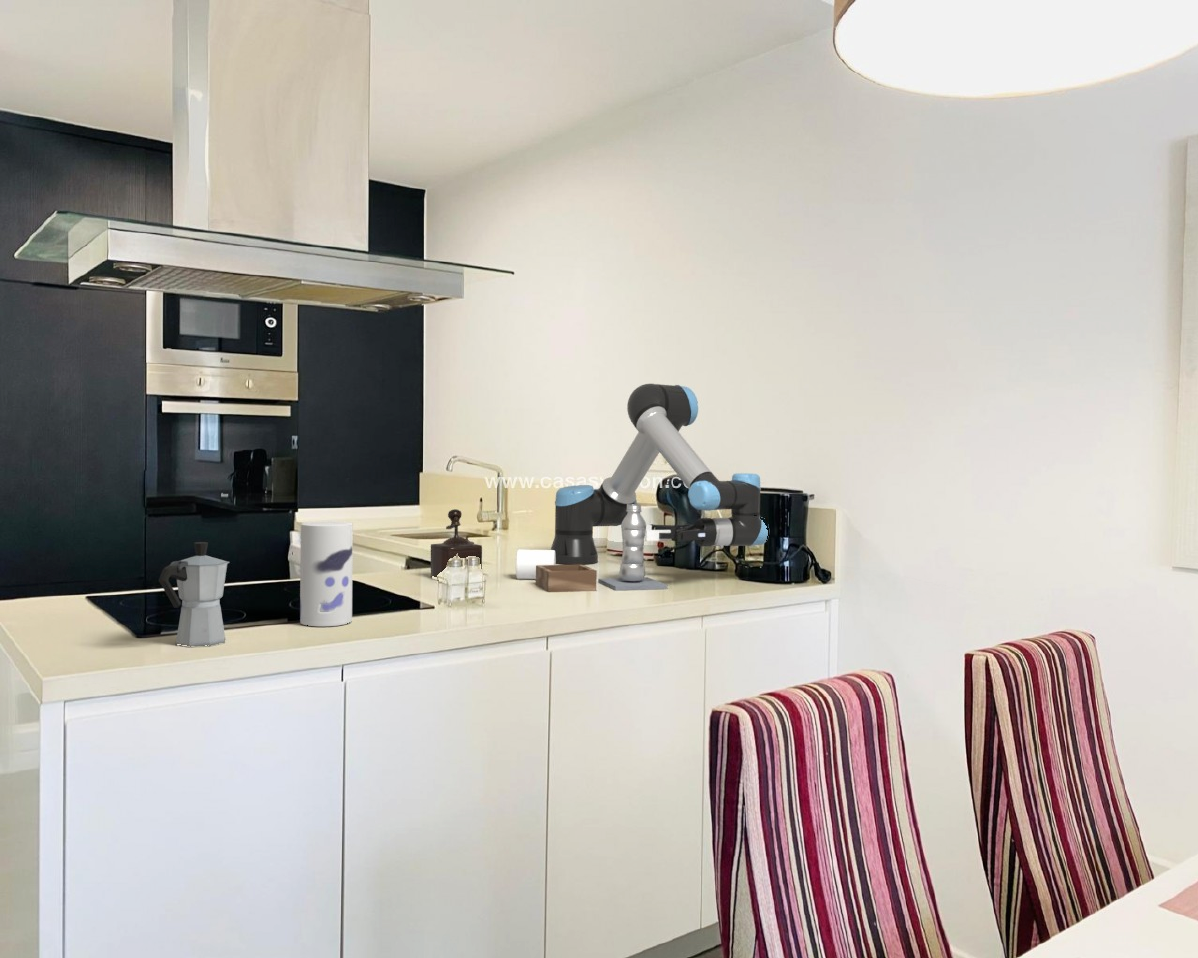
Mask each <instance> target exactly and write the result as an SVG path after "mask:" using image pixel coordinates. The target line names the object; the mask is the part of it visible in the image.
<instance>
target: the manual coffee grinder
mask: <svg viewBox="0 0 1198 958" xmlns="http://www.w3.org/2000/svg"><path fill="white" fill-rule="evenodd" d="M447 518H448V519H450V524H449V525H447V526H445V530H452V529H454V534H453V537H450V538H449V537H448V539H445V540H444V541H443V542H441V543H433V544H430V576H431V575H432V576H434V577H437V575H438V574H439V573H440V572H442V571H443V570H444V569H445V568H446V565H447V562H448V560H449V559H450V558H453V557H454V556H456V554H457V553H458V556H459V557H460V558H466V557H468V556H476V557H479V558H480V564H481V569H482V570H483V568H482V567H483V546H482V545H481V544H476V543H475V542H474V541H470V540H469V535H467V536H466V537H463V536H460V535H459V526H461V523H460V519H461V518H462V511H461V510H459V509H455V508H453V509H451V510H449V511H448V513H447Z"/></svg>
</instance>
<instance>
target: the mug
mask: <svg viewBox="0 0 1198 958" xmlns="http://www.w3.org/2000/svg"><path fill="white" fill-rule="evenodd" d="M536 565H557V563H556V557H555V550H551V549H525V548H524V549H523V548H522V549H520V548H519V549H517V551H516V558H515V575H516V576H515V577H516V580H531V581H532V580H535V581H536Z"/></svg>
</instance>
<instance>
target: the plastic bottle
mask: <svg viewBox="0 0 1198 958" xmlns="http://www.w3.org/2000/svg"><path fill="white" fill-rule="evenodd" d="M626 512H628V513H627V515H626V517H625V518H624V520H623V521H622V524H621V525H620V528H621V538H622V555H621V563H620V567H619V576H620V577H619V578H621V579H622V580H625V581H628V582H636V581H641V580H643V578H644V577H646V576H645V575H646V566H645V557H644V548H645V547H644V546H645V539H646V536H645V532H646V525H647V523H646V520H645V519H644V517H643V516H642V514H641V513H642V505H641V504H638V503H637V504H628V505H627V510H626Z"/></svg>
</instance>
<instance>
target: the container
mask: <svg viewBox="0 0 1198 958" xmlns="http://www.w3.org/2000/svg"><path fill="white" fill-rule="evenodd" d="M353 525H354V524H353V523H352V522H348V521H332V520H331V521H329V520H328V521H327V520H326V521H322V520H321V521H308V522H302V523H300V573H299V574H300V575H299V576H300V578H299V579H300V582H299V583H300V584H299V586H300V588H299V590H300V591H299V592H300V593H299V597H300V598H299V599H300V600H299V601H300V602H299V618H300V619H299V624H301V625H304V626H307V625H308V626H309V627H337V626H344V625H347V623H348V624H350V623H352V622H351V621H353V553H354V552H353V550H354V549H353V546H354V545H353V544H354V543H353V542H354V540H353V536H354V534H353V530H354V526H353ZM349 622H350V623H349Z"/></svg>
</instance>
